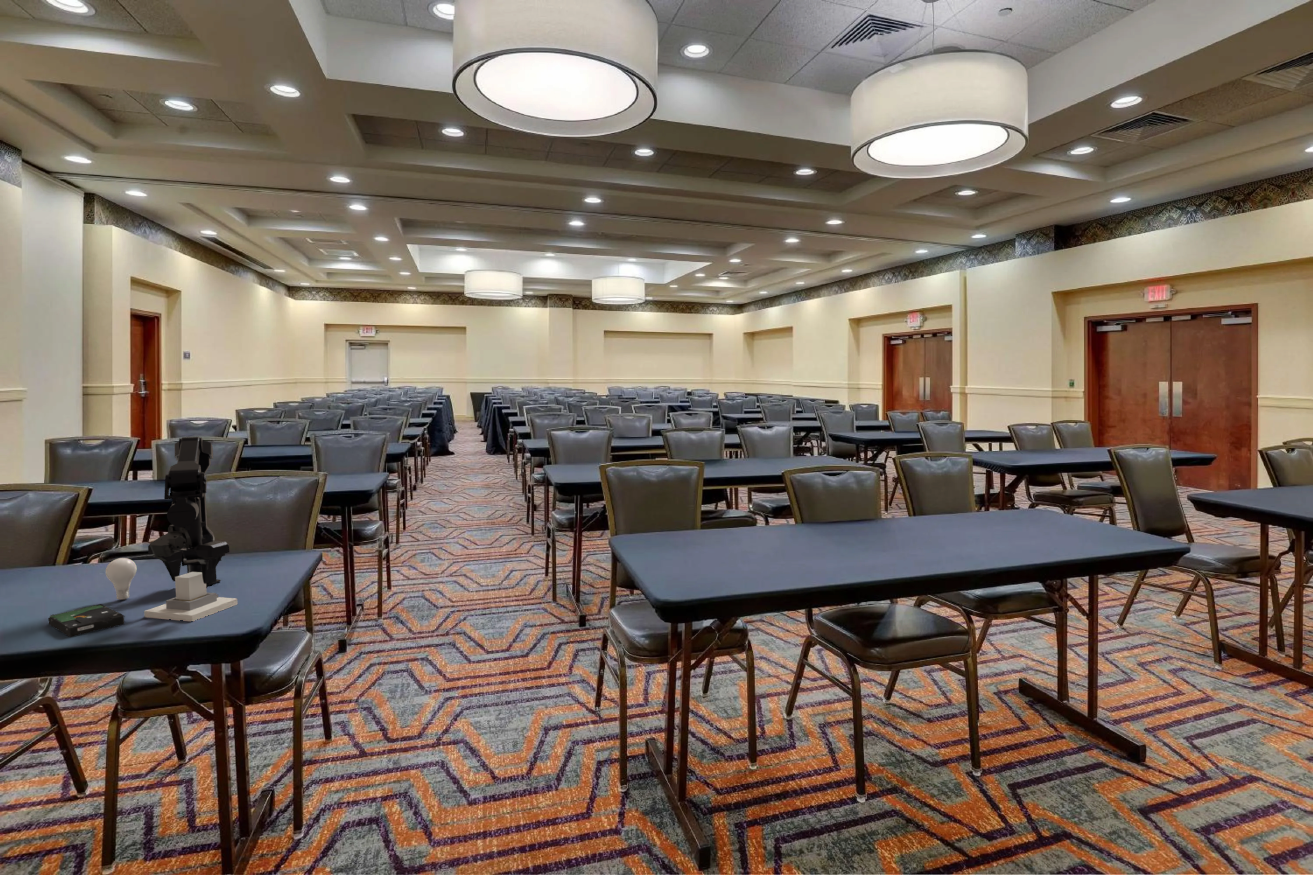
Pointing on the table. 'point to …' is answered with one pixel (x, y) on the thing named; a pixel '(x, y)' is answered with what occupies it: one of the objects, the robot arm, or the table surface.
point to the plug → (190, 586)
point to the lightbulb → (121, 576)
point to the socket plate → (191, 608)
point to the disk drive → (86, 620)
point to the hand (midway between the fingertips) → (190, 582)
